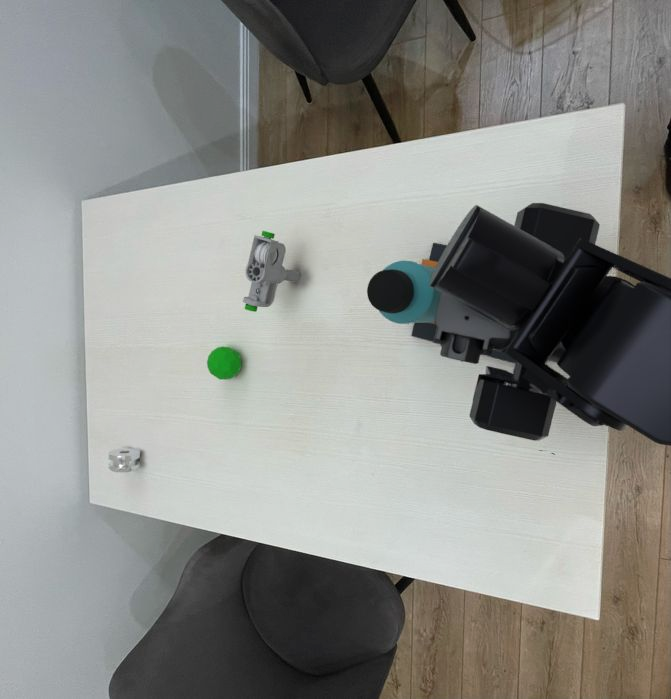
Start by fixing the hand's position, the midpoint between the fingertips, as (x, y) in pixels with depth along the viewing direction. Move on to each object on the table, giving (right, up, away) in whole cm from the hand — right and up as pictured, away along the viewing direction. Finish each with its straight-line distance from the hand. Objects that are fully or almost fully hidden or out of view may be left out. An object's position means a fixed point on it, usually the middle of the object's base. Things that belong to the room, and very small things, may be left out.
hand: (501, 323), depth 53 cm
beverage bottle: (-3, +4, +14) cm, 15 cm away
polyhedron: (-32, -4, +31) cm, 44 cm away
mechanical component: (-22, +8, +25) cm, 34 cm away
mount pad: (+2, +3, +13) cm, 13 cm away
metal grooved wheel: (-51, -21, +42) cm, 69 cm away
